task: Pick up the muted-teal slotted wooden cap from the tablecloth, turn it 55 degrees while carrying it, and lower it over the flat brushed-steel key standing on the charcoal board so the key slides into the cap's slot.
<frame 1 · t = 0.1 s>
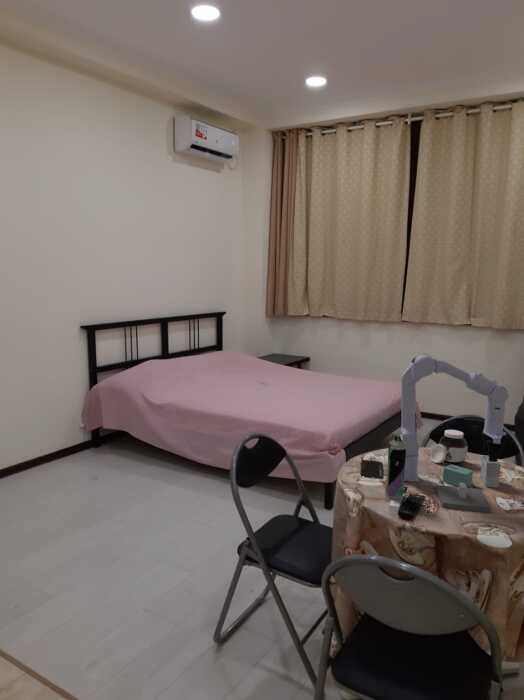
hand: (490, 457, 172), 10 cm above the table, fingers open, 7 cm apart
key board: (461, 500, 161), on the table
spray can: (394, 496, 163), on the table
spread jar: (447, 462, 195), on the table
medicine box: (489, 483, 175), on the table
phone: (371, 471, 185), on the table
keyed cap: (457, 483, 174), on the table
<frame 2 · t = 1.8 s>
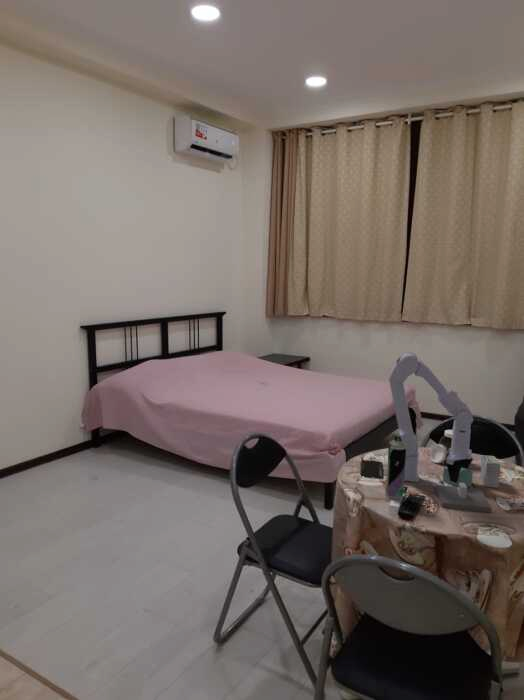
hand: (457, 479, 174), 1 cm above the table, fingers closed on keyed cap, 5 cm apart
keyed cap: (457, 483, 174), on the table, touching gripper
everything else where it was.
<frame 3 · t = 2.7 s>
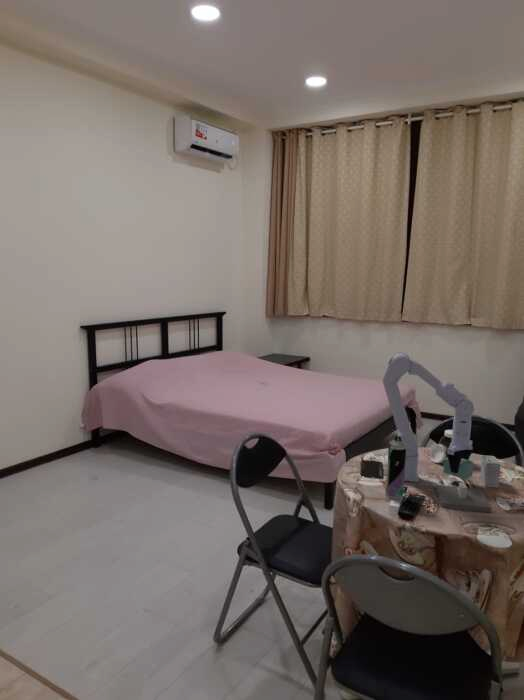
hand: (458, 470, 174), 5 cm above the table, fingers closed on keyed cap, 5 cm apart
keyed cap: (457, 474, 174), point 3 cm above the table, touching gripper
everything else where it was.
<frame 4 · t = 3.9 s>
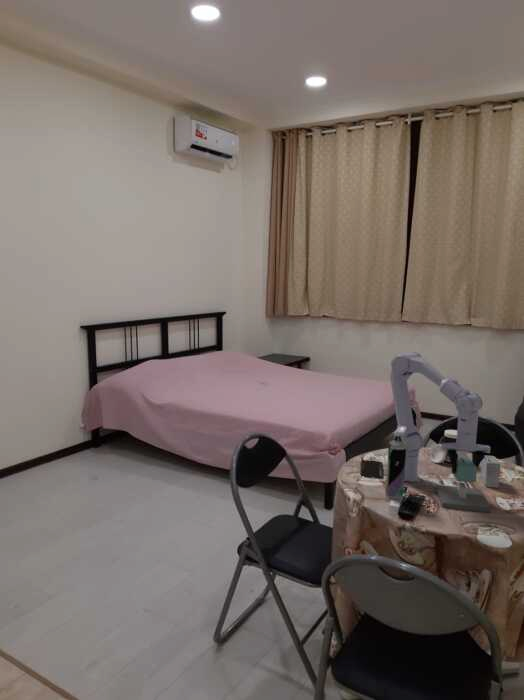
hand: (463, 473, 161), 8 cm above the table, fingers closed on keyed cap, 5 cm apart
keyed cap: (463, 477, 161), point 7 cm above the table, touching gripper
everything else where it was.
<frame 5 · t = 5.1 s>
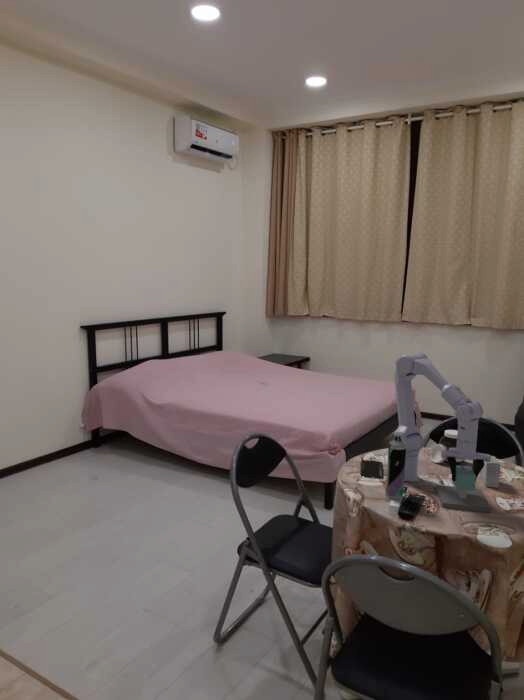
hand: (463, 481, 160), 6 cm above the table, fingers closed on keyed cap, 5 cm apart
keyed cap: (462, 485, 160), point 5 cm above the table, touching gripper
everything else where it was.
when the fingers open (4 cm above the table, at t = 6.1 s): keyed cap stays where it is, resting on key board.
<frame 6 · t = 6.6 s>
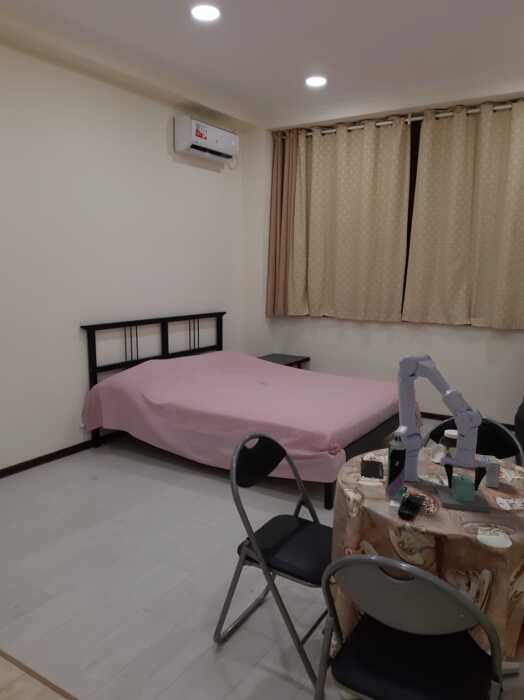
hand: (462, 488, 160), 4 cm above the table, fingers open, 7 cm apart
keyed cap: (462, 495, 161), point 1 cm above the table, touching key board
everything else where it was.
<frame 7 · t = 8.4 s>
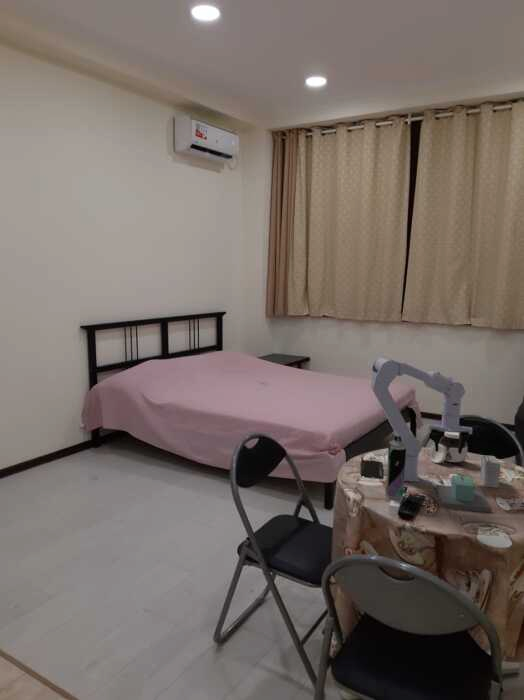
hand: (448, 451, 178), 9 cm above the table, fingers open, 7 cm apart
nothing on the table moved.
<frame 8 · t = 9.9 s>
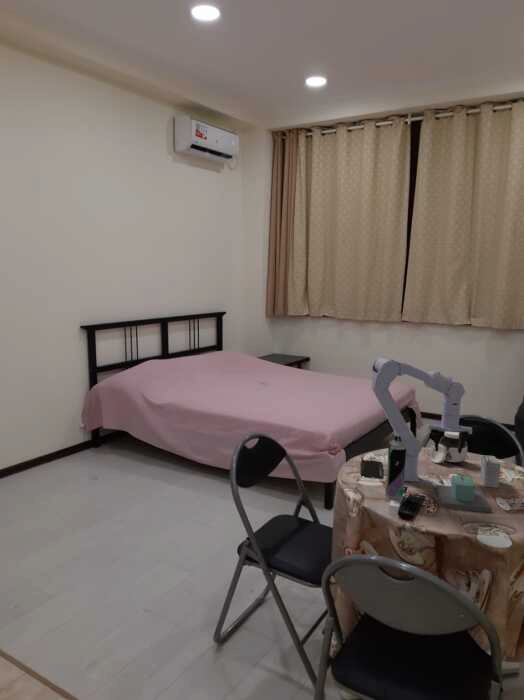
hand: (447, 451, 178), 9 cm above the table, fingers open, 7 cm apart
nothing on the table moved.
at the end: keyed cap 0.1 cm off-centre on the key board, point 1.5 cm above the key board's base; keyed cap tilted 0°; the gripper is holding nothing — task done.
